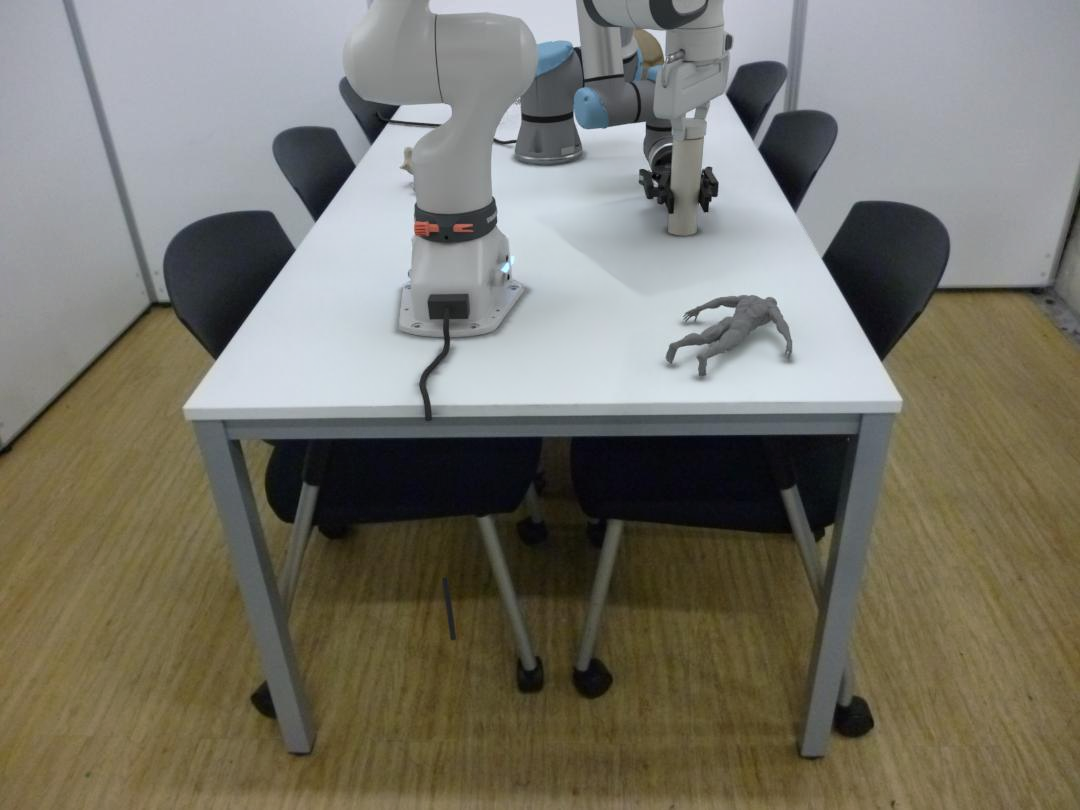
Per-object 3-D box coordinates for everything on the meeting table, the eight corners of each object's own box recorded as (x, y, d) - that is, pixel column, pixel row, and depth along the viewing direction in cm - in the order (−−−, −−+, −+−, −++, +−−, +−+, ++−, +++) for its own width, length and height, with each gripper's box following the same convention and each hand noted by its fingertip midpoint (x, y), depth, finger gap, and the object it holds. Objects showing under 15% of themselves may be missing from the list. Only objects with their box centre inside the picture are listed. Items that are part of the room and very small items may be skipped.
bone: (420, 170, 164) (410, 138, 170) (401, 193, 168) (392, 160, 173) (460, 189, 171) (449, 158, 177) (441, 211, 175) (432, 179, 180)
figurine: (740, 398, 101) (827, 332, 111) (741, 369, 98) (830, 304, 109) (633, 353, 111) (722, 297, 122) (633, 326, 108) (724, 270, 119)
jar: (686, 223, 149) (693, 120, 139) (702, 232, 145) (711, 127, 136) (662, 228, 148) (667, 124, 138) (677, 237, 144) (684, 131, 134)
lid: (673, 128, 140) (674, 117, 139) (707, 130, 139) (708, 118, 138) (669, 138, 136) (670, 126, 135) (704, 139, 134) (705, 127, 133)
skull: (629, 73, 244) (653, 2, 221) (655, 132, 236) (683, 64, 214) (578, 80, 240) (598, 7, 217) (603, 139, 232) (626, 71, 210)
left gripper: (683, 58, 121) (678, 153, 129) (738, 35, 135) (731, 122, 143) (644, 55, 124) (642, 148, 132) (702, 33, 138) (697, 118, 146)
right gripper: (716, 182, 160) (741, 224, 140) (622, 185, 160) (634, 228, 141) (720, 142, 156) (746, 180, 136) (623, 146, 156) (635, 185, 137)
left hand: (689, 134), depth 137 cm, fingers closed on lid, 5 cm apart
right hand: (689, 205), depth 139 cm, fingers closed on jar, 5 cm apart
